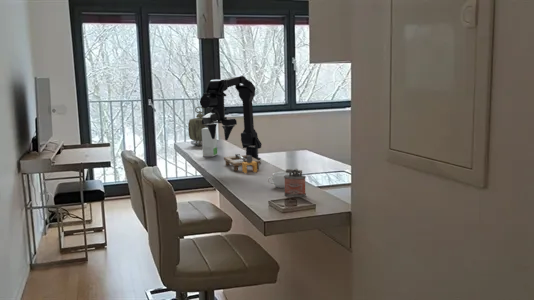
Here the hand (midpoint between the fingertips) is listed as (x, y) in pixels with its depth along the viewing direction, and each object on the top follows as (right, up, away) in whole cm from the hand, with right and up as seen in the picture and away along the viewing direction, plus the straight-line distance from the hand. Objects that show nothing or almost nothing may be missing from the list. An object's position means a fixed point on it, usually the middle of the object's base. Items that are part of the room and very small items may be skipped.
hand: (219, 139), depth 241 cm
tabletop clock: (-20, -2, +84) cm, 86 cm away
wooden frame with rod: (+10, -13, +6) cm, 18 cm away
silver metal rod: (+10, -9, +6) cm, 15 cm away
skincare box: (-10, -8, +44) cm, 46 cm away
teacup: (+28, -20, -39) cm, 52 cm away
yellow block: (+14, -15, -7) cm, 22 cm away
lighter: (+33, -22, -54) cm, 67 cm away
